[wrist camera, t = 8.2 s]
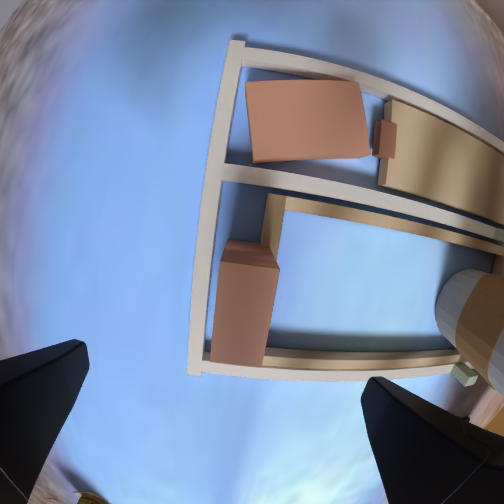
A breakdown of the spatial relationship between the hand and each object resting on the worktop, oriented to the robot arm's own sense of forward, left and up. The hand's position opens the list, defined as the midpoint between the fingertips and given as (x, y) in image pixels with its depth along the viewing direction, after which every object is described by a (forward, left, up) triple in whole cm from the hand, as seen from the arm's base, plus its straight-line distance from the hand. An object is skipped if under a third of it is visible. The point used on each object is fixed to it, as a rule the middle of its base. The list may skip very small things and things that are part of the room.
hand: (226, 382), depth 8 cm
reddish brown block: (-3, -10, -12) cm, 16 cm away
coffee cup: (-19, 0, -11) cm, 22 cm away
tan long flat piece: (-20, -10, -11) cm, 25 cm away
